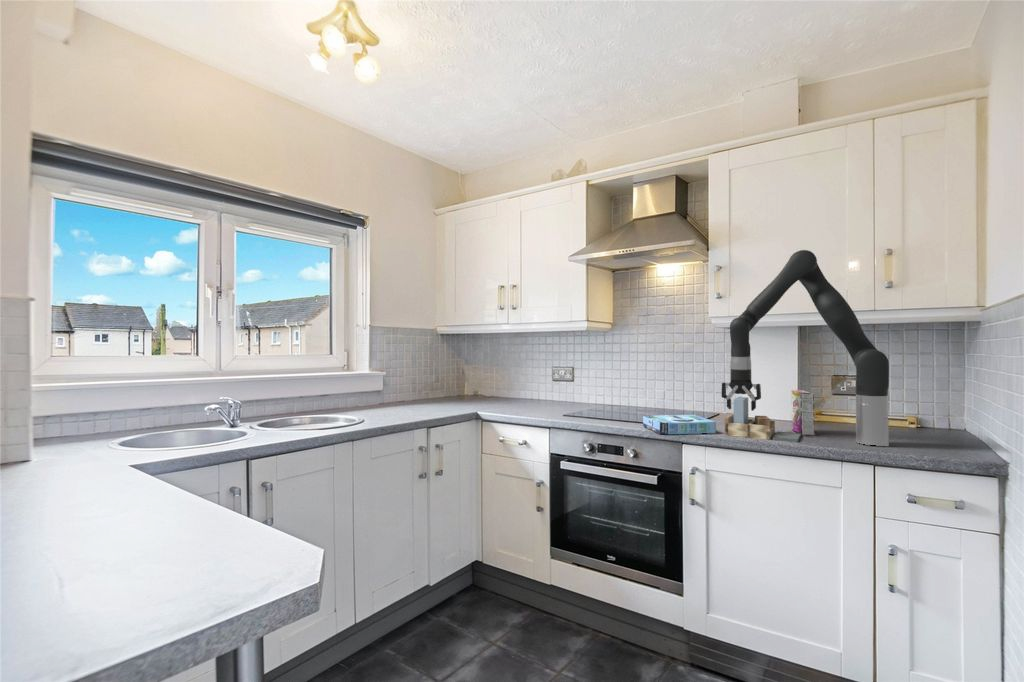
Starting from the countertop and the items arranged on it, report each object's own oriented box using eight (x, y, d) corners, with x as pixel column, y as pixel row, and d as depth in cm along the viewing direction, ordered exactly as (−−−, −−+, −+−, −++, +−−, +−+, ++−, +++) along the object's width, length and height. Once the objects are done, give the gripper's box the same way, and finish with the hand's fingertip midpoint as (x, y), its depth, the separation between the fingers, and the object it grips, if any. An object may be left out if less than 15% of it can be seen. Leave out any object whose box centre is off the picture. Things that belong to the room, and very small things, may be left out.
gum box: (694, 425, 217) (642, 427, 216) (694, 413, 217) (642, 415, 215) (716, 433, 198) (659, 435, 196) (715, 420, 198) (659, 422, 196)
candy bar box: (790, 430, 205) (790, 390, 205) (804, 430, 204) (804, 390, 204) (800, 435, 194) (800, 392, 194) (815, 435, 193) (814, 393, 193)
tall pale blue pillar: (748, 432, 201) (748, 397, 201) (743, 436, 192) (743, 400, 192) (739, 431, 203) (738, 396, 203) (733, 435, 194) (733, 399, 194)
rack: (774, 433, 198) (774, 415, 198) (769, 439, 185) (769, 420, 185) (732, 429, 206) (732, 412, 206) (724, 435, 194) (724, 417, 194)
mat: (800, 436, 192) (800, 433, 192) (797, 442, 181) (797, 439, 181) (777, 433, 197) (777, 431, 197) (772, 439, 185) (772, 437, 185)
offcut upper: (766, 424, 196) (766, 415, 196) (770, 428, 189) (770, 418, 189) (754, 424, 198) (754, 415, 198) (758, 427, 190) (758, 418, 190)
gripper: (762, 368, 197) (762, 409, 197) (723, 367, 205) (723, 407, 205) (759, 369, 191) (759, 412, 190) (719, 368, 199) (719, 409, 199)
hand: (741, 409), depth 198 cm, fingers open, 8 cm apart
